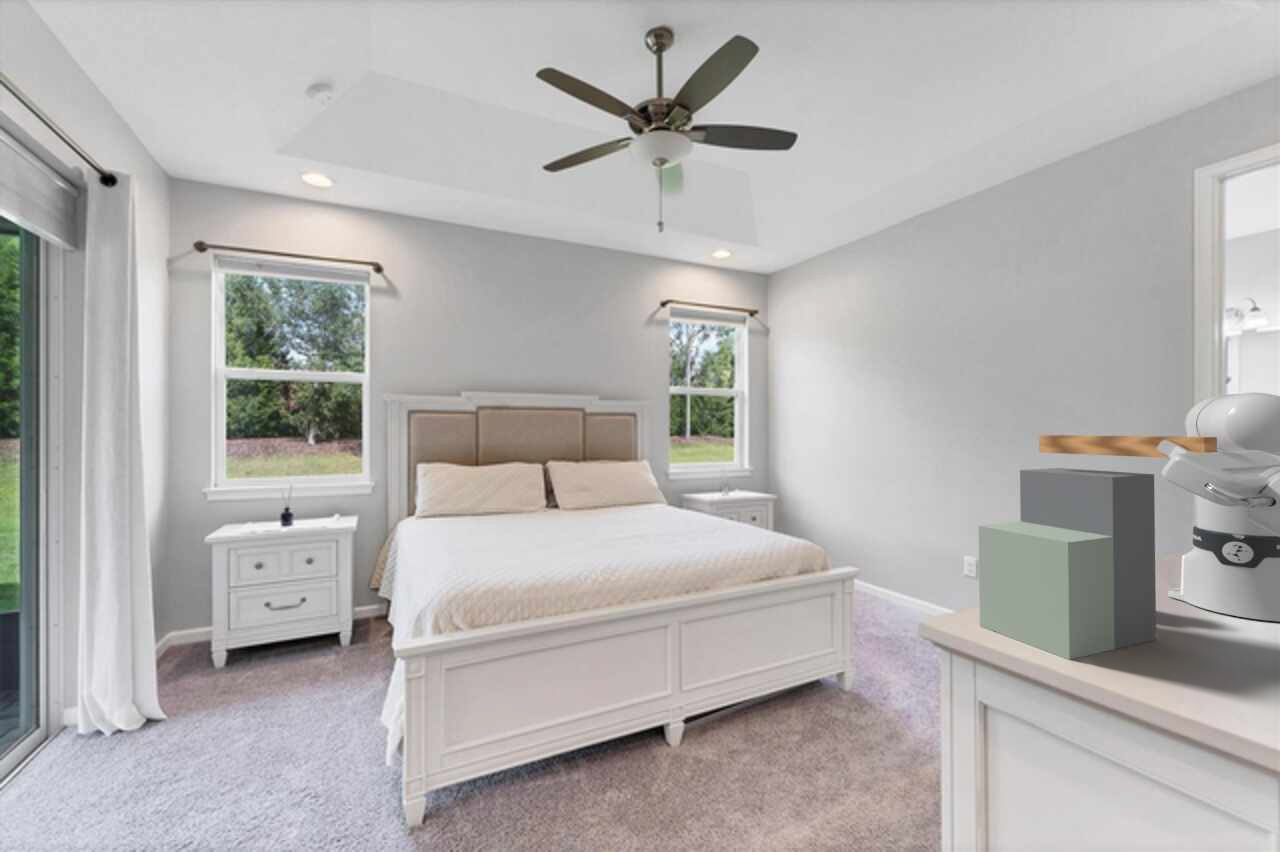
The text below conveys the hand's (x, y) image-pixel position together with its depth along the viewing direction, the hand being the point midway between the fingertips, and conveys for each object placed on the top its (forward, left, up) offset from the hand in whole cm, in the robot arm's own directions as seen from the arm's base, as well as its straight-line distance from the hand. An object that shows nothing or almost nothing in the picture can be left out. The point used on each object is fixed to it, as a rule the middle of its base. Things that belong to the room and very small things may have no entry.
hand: (1171, 443), depth 78 cm
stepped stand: (+1, -13, -31) cm, 34 cm away
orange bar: (-2, -6, -2) cm, 7 cm away
